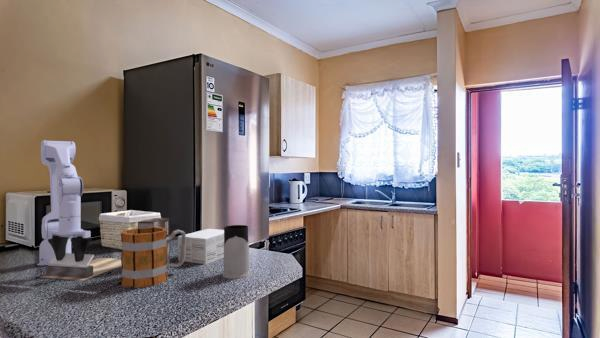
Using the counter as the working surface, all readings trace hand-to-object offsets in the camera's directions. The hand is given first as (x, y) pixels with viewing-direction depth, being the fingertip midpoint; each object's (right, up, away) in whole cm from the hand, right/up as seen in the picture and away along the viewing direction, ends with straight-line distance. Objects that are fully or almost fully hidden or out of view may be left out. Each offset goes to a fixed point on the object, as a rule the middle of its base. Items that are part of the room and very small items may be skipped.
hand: (69, 260), depth 109 cm
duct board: (+2, -5, +9) cm, 11 cm away
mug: (+27, -5, -1) cm, 28 cm away
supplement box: (+36, -5, +25) cm, 44 cm away
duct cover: (0, 0, +1) cm, 1 cm away
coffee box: (+21, -5, +13) cm, 25 cm away
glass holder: (+51, -5, +4) cm, 52 cm away
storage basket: (-3, -6, +46) cm, 46 cm away
